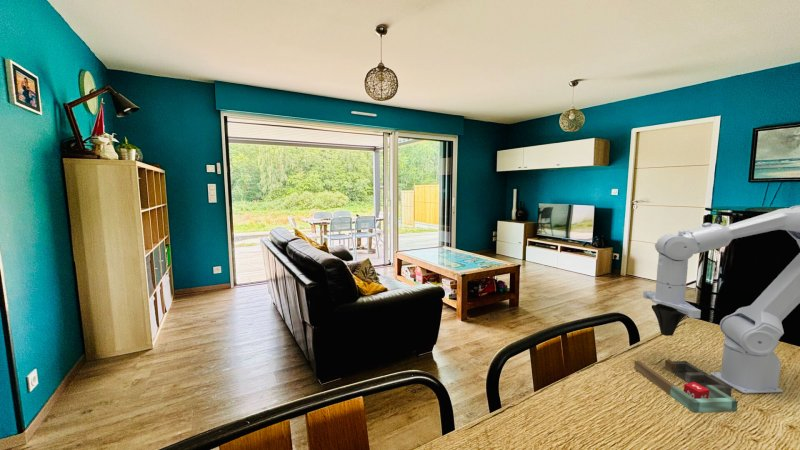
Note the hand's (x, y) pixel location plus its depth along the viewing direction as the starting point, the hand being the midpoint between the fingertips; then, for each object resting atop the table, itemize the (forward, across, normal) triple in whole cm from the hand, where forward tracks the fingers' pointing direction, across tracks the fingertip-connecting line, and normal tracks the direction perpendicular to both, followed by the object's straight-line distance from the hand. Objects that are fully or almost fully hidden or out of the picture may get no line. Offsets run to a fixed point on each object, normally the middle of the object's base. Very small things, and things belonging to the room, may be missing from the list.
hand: (666, 334), depth 82 cm
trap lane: (+10, +7, 0) cm, 12 cm away
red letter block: (+10, +11, -2) cm, 15 cm away
